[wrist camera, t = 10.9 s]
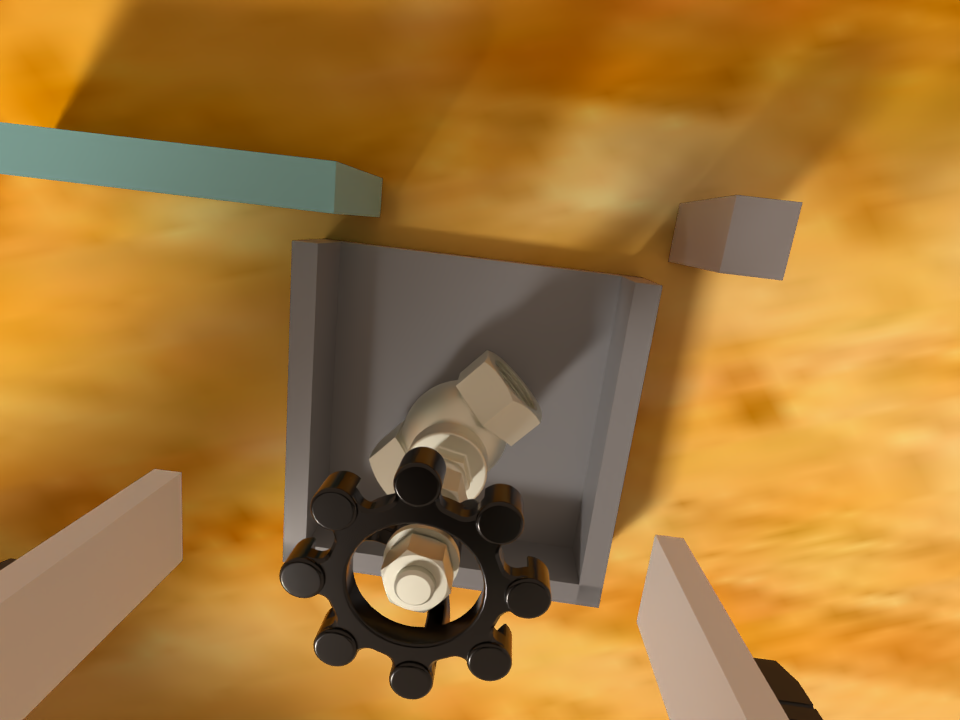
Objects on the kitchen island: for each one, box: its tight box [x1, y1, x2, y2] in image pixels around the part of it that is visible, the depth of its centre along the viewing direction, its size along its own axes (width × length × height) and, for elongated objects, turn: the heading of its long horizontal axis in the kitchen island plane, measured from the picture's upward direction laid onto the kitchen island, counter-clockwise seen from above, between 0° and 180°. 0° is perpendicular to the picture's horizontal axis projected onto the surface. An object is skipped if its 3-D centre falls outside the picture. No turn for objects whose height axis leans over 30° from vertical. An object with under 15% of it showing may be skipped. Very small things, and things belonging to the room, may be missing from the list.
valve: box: [279, 350, 552, 699], centre depth 19 cm, size 7×7×12 cm
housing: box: [283, 195, 802, 608], centre depth 22 cm, size 17×17×6 cm
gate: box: [0, 122, 383, 217], centre depth 20 cm, size 2×15×6 cm, turn 84°
